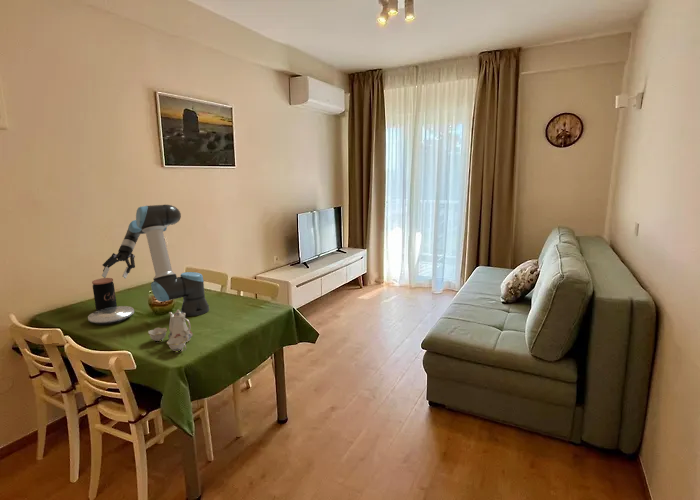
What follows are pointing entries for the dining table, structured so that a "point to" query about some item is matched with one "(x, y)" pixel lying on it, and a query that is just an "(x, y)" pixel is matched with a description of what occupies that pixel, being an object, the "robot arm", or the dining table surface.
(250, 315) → the dining table surface
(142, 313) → the dining table surface
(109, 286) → the coffee jar
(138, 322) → the dining table surface
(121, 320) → the turntable base
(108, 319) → the disc
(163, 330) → the chinaware
